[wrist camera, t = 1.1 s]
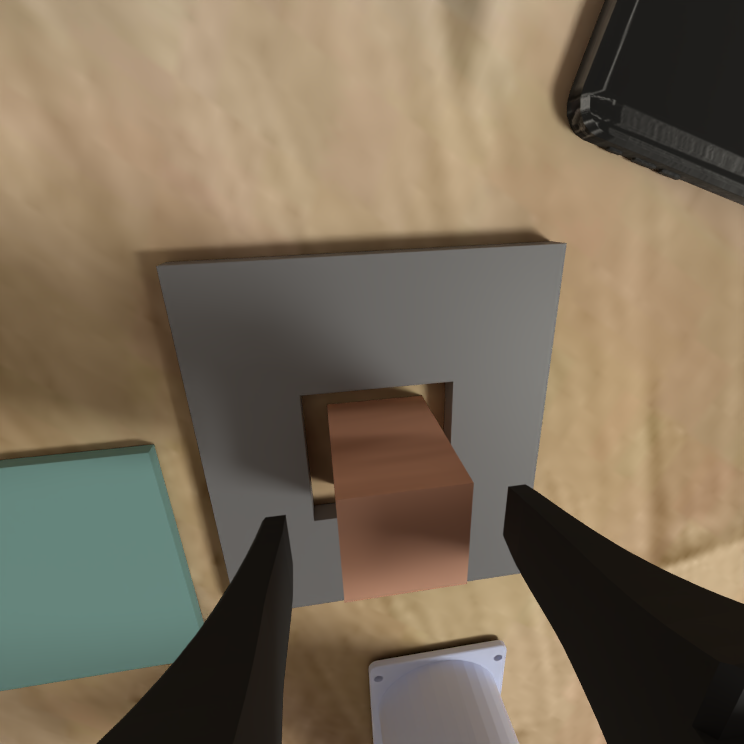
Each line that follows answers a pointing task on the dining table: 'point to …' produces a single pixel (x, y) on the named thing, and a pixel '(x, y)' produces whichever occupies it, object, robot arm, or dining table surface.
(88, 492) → the teal mat
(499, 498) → the charcoal pocket board
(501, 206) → the dining table surface
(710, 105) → the phone
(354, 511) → the terracotta block
